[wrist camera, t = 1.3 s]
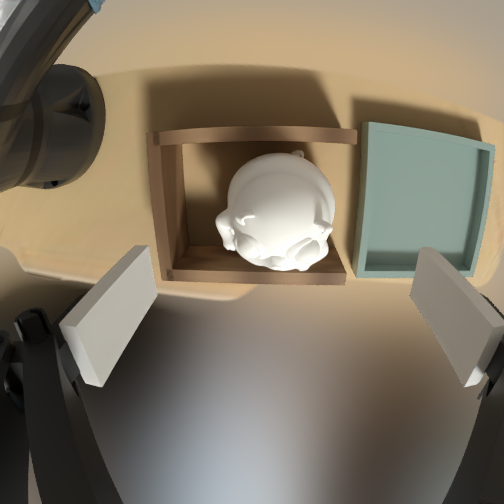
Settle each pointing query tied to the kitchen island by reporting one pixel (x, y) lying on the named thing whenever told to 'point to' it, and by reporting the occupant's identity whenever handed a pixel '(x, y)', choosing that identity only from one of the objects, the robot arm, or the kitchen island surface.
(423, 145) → the tray
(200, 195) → the kitchen island surface
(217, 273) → the wooden open box
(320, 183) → the figurine
